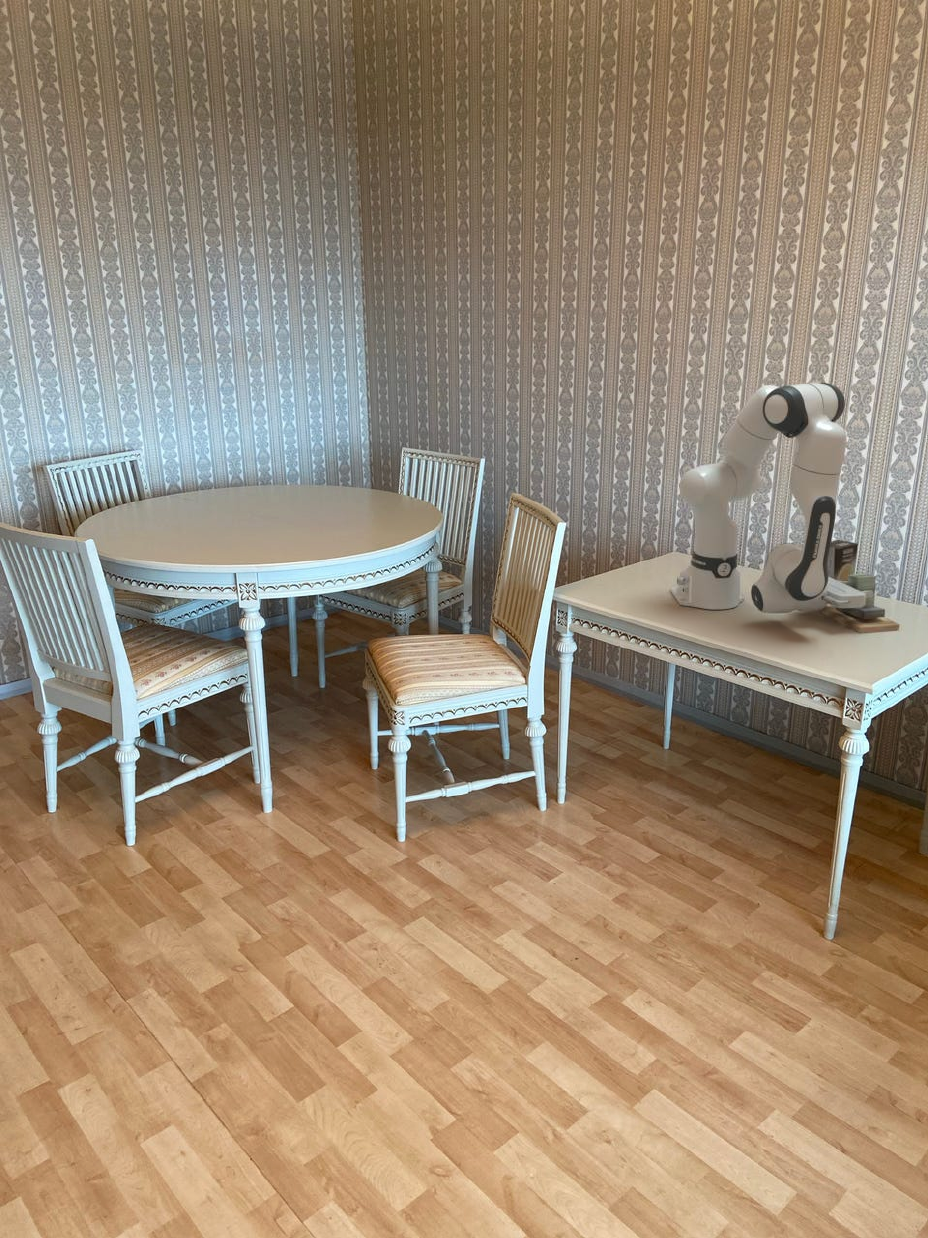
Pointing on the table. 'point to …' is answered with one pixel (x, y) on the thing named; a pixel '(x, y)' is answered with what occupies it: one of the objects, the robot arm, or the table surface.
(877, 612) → the block
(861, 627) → the pine board
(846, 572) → the coffee box
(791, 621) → the table surface
